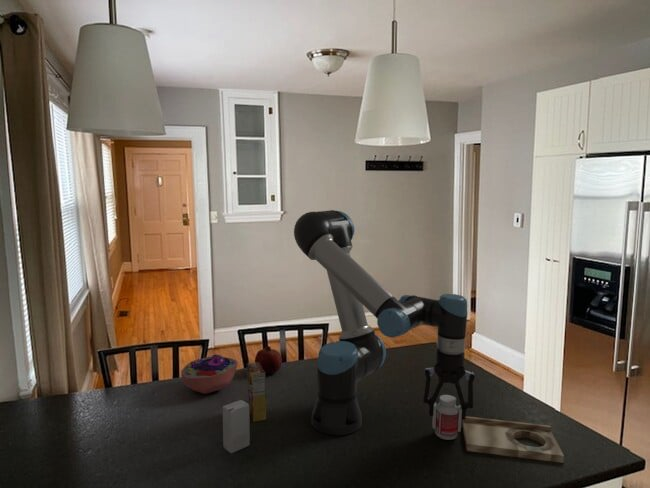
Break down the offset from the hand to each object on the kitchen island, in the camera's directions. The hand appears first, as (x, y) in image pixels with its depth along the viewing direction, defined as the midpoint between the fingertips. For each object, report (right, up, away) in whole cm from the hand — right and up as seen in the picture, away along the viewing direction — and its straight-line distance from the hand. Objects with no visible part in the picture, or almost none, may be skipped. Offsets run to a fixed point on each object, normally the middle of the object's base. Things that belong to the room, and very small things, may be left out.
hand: (446, 427), depth 129 cm
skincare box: (-59, -3, -7) cm, 59 cm away
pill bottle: (0, -2, 0) cm, 2 cm away
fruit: (-56, +3, +42) cm, 71 cm away
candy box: (-56, -1, +11) cm, 57 cm away
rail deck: (+17, -3, -3) cm, 17 cm away
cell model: (-75, +2, +28) cm, 80 cm away
